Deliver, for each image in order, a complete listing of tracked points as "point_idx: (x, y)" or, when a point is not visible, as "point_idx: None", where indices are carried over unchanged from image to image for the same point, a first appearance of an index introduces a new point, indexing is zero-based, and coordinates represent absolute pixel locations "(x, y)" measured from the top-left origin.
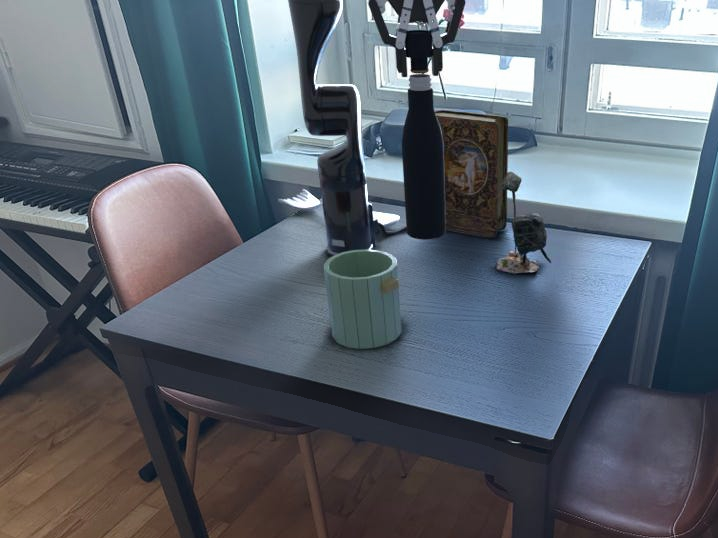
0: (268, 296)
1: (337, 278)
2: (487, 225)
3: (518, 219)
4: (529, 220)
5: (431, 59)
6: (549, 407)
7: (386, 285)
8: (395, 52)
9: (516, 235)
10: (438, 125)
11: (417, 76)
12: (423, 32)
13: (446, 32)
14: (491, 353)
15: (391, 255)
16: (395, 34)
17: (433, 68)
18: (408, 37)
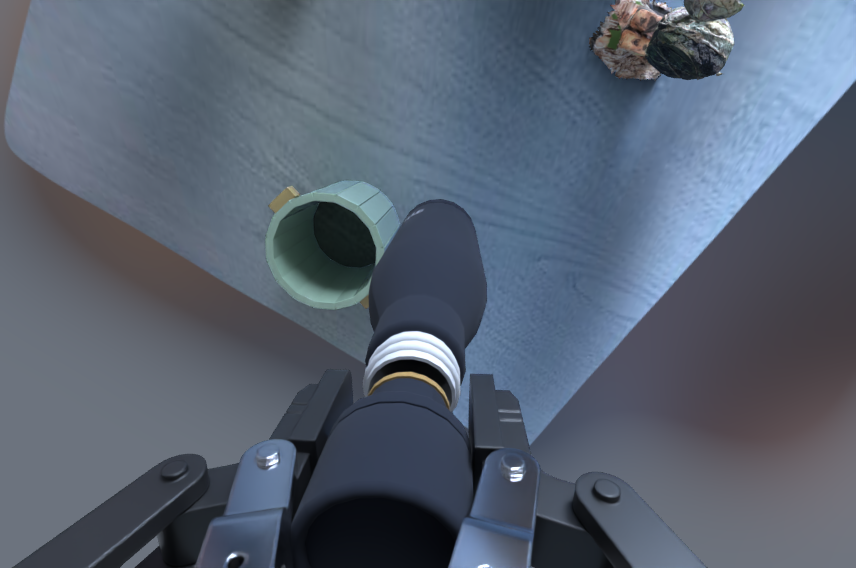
0: (194, 81)
1: (291, 296)
2: None
3: (677, 40)
4: (697, 60)
5: (472, 403)
6: (536, 421)
7: (366, 308)
8: (270, 437)
9: (655, 50)
10: (473, 337)
11: (404, 353)
12: (424, 525)
13: (593, 539)
14: (505, 314)
15: (376, 230)
16: (231, 492)
17: (469, 439)
18: None
